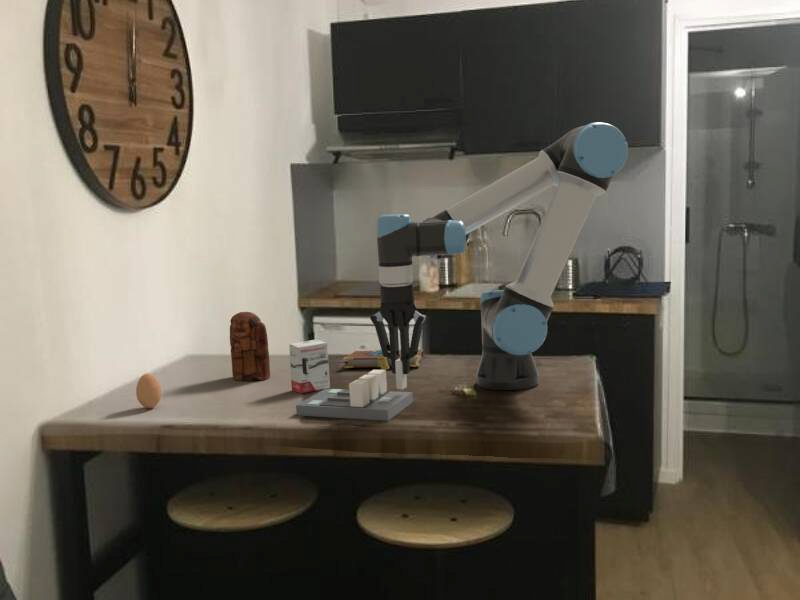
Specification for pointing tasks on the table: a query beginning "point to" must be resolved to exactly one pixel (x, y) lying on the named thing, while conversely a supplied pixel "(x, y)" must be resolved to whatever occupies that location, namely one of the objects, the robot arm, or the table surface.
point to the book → (376, 359)
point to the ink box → (309, 366)
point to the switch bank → (339, 406)
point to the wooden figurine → (249, 348)
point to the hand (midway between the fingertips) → (401, 387)
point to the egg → (148, 391)
